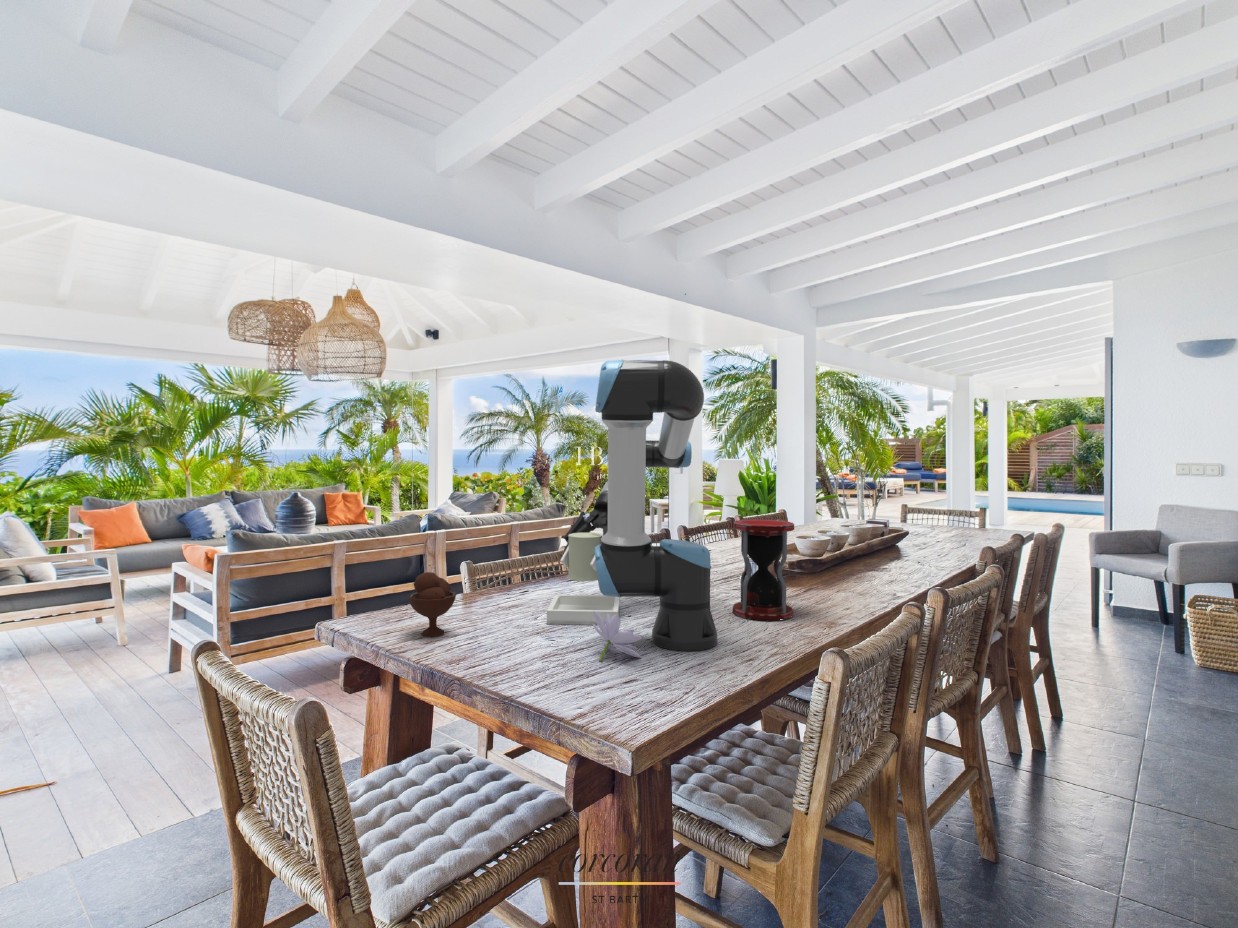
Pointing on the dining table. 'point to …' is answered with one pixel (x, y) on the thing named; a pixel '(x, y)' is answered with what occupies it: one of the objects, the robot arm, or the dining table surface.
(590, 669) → the dining table surface
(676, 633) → the robot arm
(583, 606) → the grey tray
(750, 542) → the hourglass
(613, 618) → the water lily
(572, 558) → the can
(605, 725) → the dining table surface
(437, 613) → the ice cream bowl
